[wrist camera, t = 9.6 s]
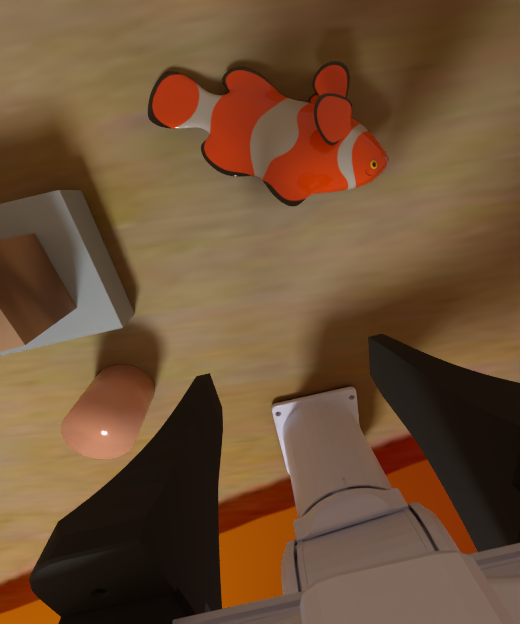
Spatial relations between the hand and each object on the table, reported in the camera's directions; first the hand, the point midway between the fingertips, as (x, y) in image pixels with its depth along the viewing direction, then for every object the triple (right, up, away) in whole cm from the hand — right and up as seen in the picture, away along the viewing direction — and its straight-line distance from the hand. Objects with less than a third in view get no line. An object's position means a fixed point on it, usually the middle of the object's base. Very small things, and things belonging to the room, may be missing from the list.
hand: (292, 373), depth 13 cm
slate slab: (-17, +6, +8) cm, 19 cm away
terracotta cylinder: (-13, -4, +12) cm, 18 cm away
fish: (0, +14, +6) cm, 16 cm away
